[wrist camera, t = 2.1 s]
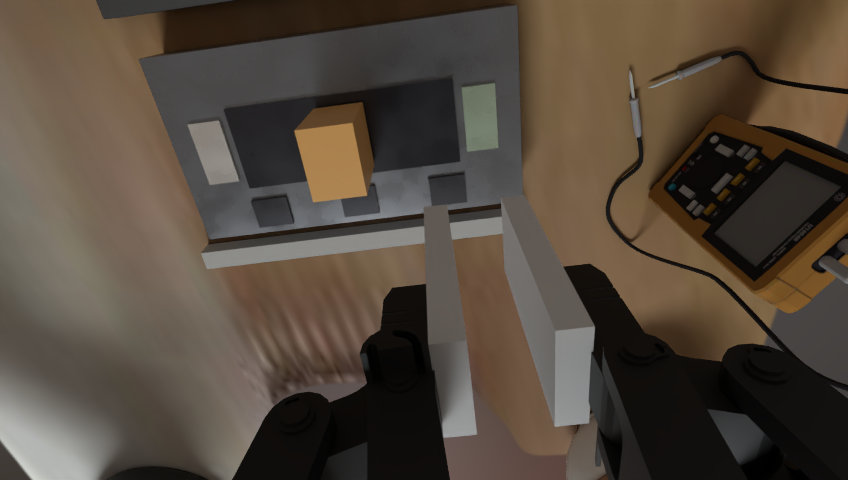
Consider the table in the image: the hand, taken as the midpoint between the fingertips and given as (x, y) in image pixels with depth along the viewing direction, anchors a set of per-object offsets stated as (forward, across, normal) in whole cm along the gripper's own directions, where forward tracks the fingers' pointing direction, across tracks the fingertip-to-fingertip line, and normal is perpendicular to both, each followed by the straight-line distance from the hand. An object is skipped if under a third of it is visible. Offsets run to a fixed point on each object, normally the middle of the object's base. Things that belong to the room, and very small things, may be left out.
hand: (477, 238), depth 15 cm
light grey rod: (+18, +8, +8) cm, 22 cm away
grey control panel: (+18, +6, 0) cm, 20 cm away
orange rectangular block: (+15, +6, 0) cm, 16 cm away
